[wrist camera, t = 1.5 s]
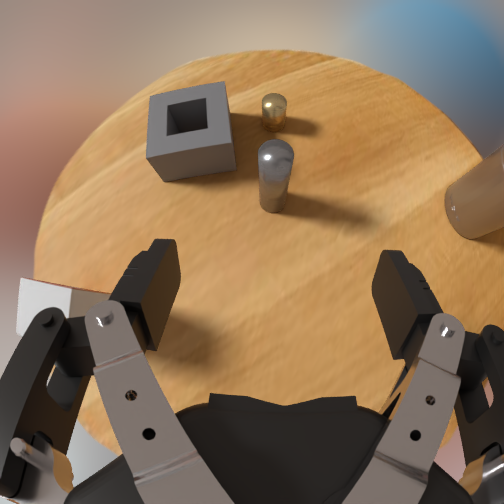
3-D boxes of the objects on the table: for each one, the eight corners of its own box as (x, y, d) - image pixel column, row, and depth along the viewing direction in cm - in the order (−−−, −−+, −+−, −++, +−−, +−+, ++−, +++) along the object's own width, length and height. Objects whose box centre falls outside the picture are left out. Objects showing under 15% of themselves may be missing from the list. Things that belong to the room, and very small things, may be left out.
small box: (131, 295, 35) (73, 287, 23) (127, 343, 34) (68, 356, 21) (82, 287, 36) (19, 275, 23) (78, 332, 35) (15, 335, 22)
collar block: (229, 112, 40) (224, 81, 33) (236, 170, 38) (231, 142, 31) (164, 124, 40) (150, 96, 33) (164, 182, 38) (146, 158, 31)
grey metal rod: (282, 188, 37) (290, 137, 25) (286, 211, 37) (296, 167, 25) (258, 191, 37) (255, 141, 25) (261, 214, 37) (260, 171, 25)
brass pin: (282, 113, 40) (284, 92, 35) (286, 131, 39) (288, 110, 34) (260, 115, 40) (260, 94, 35) (264, 133, 39) (263, 112, 34)
